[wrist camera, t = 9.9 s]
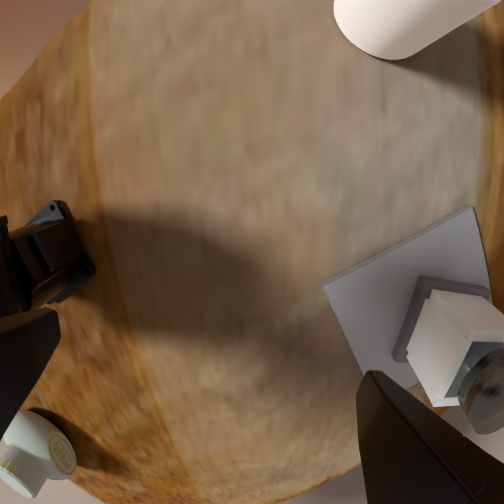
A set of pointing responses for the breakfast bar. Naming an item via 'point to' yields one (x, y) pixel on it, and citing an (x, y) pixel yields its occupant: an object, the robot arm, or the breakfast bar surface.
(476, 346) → the white square sleeve
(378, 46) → the can
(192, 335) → the breakfast bar surface
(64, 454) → the air freshener
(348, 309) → the slate mat
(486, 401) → the plunger
